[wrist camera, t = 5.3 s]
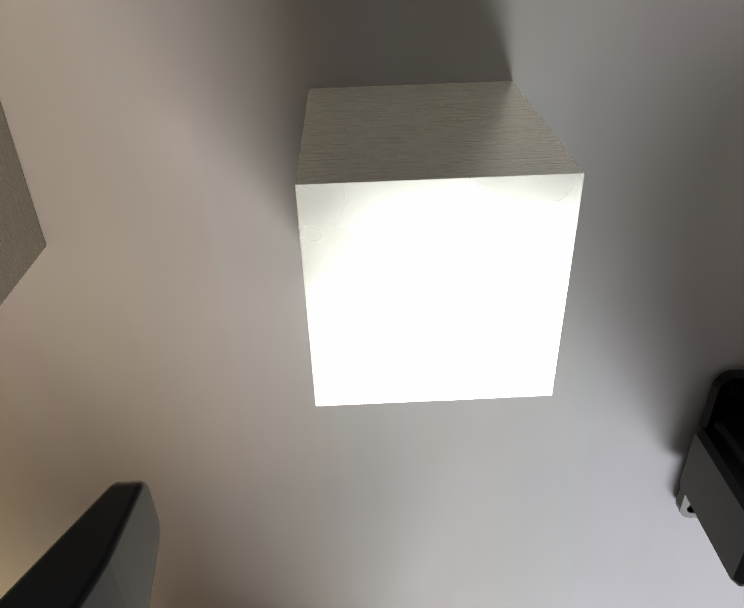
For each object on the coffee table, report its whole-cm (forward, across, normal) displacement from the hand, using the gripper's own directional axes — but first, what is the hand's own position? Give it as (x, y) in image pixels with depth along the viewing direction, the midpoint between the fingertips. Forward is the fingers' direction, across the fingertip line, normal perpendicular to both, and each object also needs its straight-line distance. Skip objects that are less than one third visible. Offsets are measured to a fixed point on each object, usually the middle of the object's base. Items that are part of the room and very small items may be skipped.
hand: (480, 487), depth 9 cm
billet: (+11, 0, 0) cm, 11 cm away
